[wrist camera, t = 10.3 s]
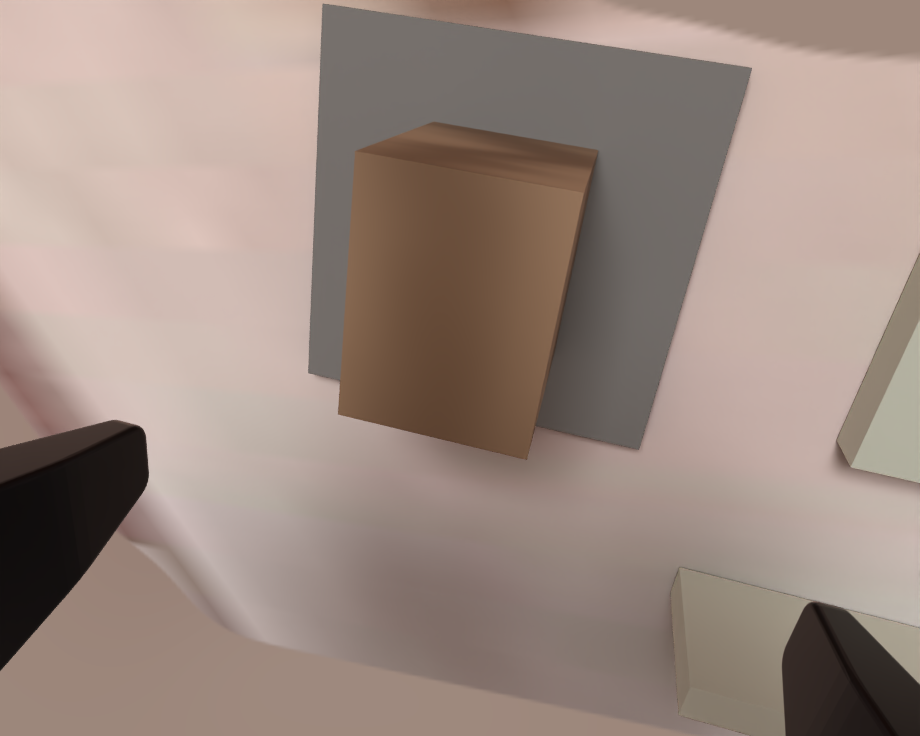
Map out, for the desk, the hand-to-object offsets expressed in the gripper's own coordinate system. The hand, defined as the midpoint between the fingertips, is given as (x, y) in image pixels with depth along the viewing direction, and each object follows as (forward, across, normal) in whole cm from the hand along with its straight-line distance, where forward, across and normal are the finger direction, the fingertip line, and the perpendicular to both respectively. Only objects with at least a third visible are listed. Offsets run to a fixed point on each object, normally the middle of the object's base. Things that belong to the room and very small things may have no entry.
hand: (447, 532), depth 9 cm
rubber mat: (+13, +2, 0) cm, 13 cm away
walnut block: (+12, +2, -1) cm, 12 cm away
